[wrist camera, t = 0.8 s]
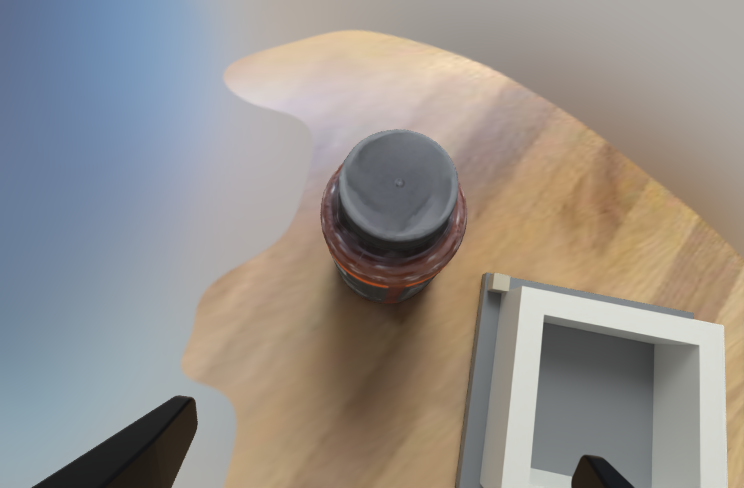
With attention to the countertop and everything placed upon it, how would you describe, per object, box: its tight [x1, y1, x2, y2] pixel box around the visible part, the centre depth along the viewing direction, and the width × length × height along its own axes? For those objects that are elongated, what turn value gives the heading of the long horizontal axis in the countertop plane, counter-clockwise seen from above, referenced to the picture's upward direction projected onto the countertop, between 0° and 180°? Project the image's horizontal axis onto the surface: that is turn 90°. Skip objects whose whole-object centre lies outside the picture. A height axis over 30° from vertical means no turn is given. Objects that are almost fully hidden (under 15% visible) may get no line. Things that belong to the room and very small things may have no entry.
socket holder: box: [455, 273, 728, 488], centre depth 20 cm, size 12×12×4 cm
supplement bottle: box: [321, 129, 467, 303], centre depth 18 cm, size 6×6×11 cm
